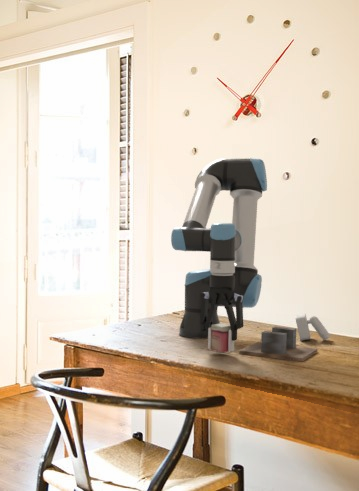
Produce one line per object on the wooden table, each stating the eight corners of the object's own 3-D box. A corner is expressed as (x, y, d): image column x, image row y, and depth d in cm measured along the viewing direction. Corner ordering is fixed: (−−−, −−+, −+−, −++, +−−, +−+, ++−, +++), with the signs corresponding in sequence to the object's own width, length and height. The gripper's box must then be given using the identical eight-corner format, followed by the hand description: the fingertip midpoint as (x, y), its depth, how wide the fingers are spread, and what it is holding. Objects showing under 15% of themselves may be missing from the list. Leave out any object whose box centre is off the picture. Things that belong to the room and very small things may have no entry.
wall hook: (331, 341, 216) (325, 312, 216) (301, 346, 218) (295, 318, 218) (331, 337, 224) (325, 309, 224) (301, 342, 226) (295, 314, 226)
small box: (210, 350, 195) (210, 324, 194) (220, 348, 198) (221, 322, 197) (221, 353, 191) (221, 327, 191) (232, 351, 194) (232, 325, 193)
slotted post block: (239, 353, 196) (239, 331, 196) (257, 344, 210) (258, 323, 210) (302, 361, 187) (302, 337, 187) (317, 351, 201) (318, 329, 201)
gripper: (188, 273, 194) (187, 348, 195) (247, 277, 185) (245, 355, 187) (199, 271, 200) (198, 343, 202) (256, 274, 192) (254, 350, 193)
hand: (221, 349), depth 194 cm, fingers closed on small box, 6 cm apart
